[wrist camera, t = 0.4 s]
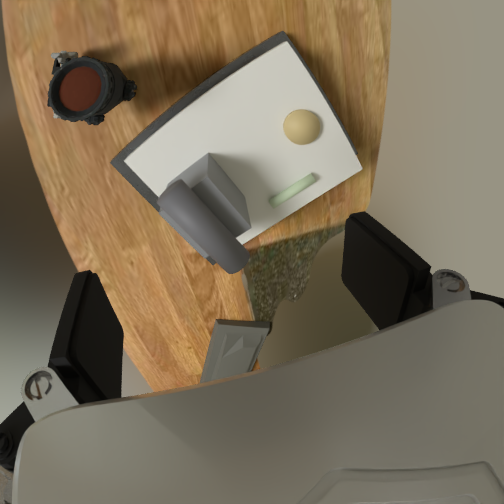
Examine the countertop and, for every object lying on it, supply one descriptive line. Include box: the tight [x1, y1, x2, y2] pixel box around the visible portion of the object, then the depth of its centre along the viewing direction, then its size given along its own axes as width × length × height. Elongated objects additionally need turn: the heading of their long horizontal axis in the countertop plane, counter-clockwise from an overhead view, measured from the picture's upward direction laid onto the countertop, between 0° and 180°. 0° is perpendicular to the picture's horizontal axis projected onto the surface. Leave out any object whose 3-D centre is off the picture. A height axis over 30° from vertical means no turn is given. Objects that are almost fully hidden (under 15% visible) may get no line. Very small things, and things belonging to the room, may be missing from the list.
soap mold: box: [200, 319, 270, 383], centre depth 56 cm, size 10×20×4 cm, turn 164°
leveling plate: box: [124, 41, 362, 274], centre depth 30 cm, size 22×18×12 cm
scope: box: [47, 51, 137, 125], centre depth 23 cm, size 8×14×10 cm
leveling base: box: [110, 31, 358, 265], centre depth 37 cm, size 26×20×2 cm
